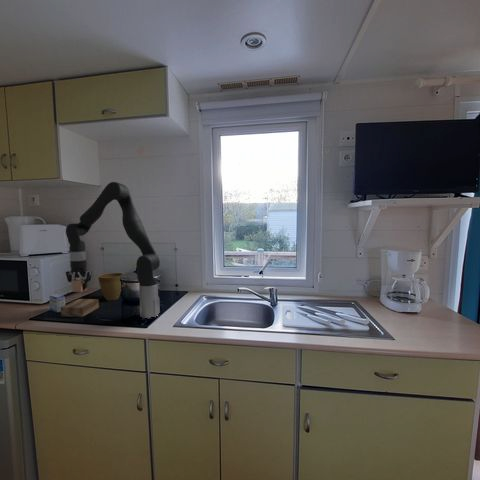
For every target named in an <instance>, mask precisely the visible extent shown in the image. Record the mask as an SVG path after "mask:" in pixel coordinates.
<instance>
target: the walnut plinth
mask: <svg viewBox="0 0 480 480" xmlns="http://www.w3.org/2000/svg"><path fill="white" fill-rule="evenodd" d="M99 301H100V300H99V299H98V298H93V299H92V298H78V299H76V300H73V301H71V302H69V303H67V304H65V306H62V307H61V312H60V317H70V318H71V317H75V318H79V317H81V318H83V317H85V316H86V315H87V316H88V314H90V313H92V312H95V310H97V309H98V308H100V303H99Z"/></svg>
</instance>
